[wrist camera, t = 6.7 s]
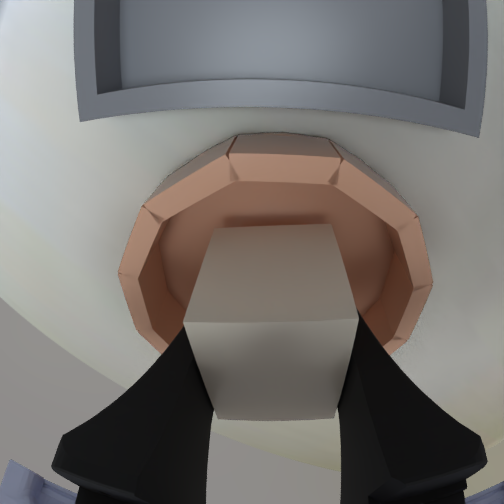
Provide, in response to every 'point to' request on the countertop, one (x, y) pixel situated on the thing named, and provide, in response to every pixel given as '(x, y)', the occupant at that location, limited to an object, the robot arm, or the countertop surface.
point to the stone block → (272, 322)
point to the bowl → (271, 214)
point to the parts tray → (285, 57)
